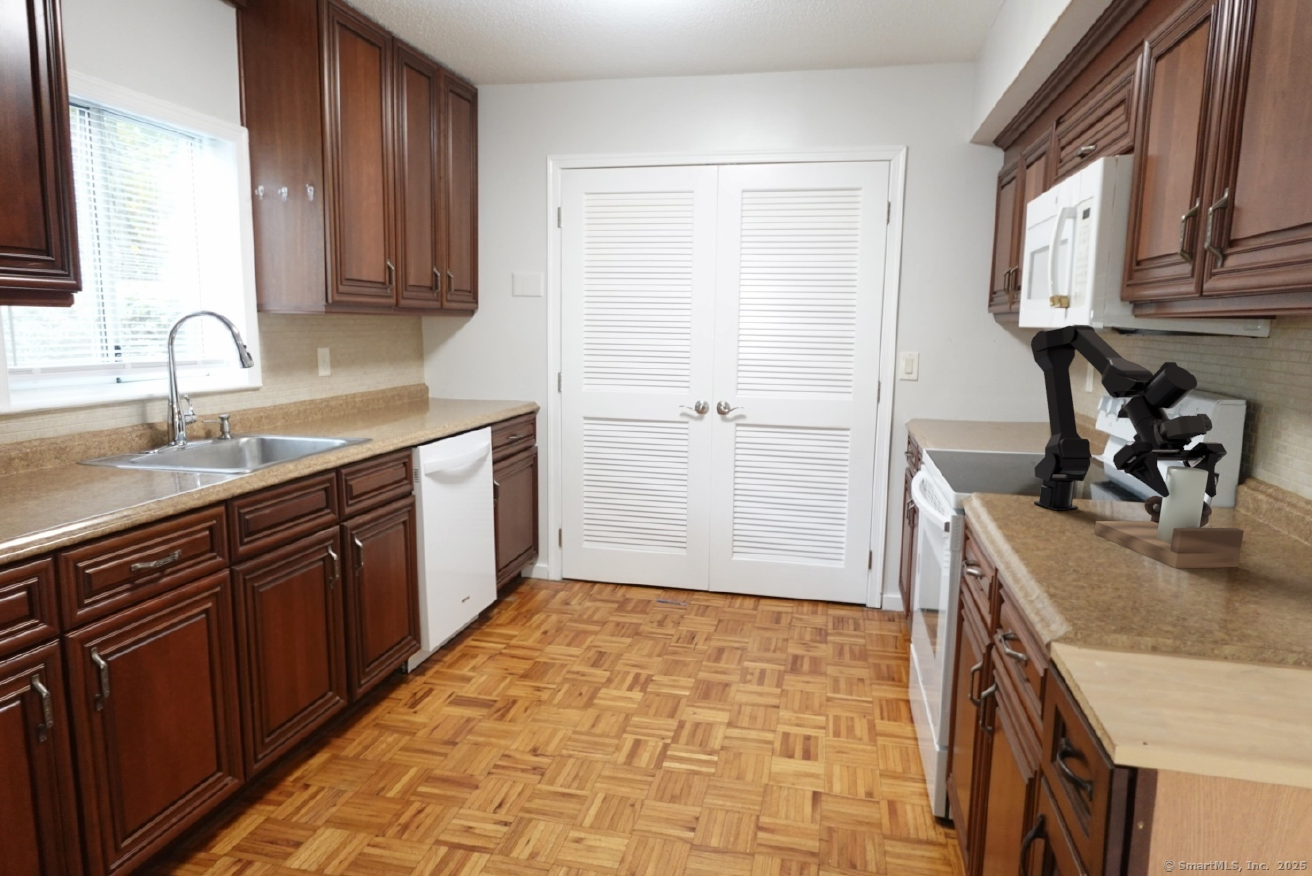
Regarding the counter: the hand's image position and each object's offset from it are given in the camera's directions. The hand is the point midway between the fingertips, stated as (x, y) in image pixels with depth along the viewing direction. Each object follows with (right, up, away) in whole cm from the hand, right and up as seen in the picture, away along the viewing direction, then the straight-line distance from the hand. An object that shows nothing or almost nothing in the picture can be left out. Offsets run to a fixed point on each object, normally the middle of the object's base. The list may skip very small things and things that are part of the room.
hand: (1190, 496), depth 139 cm
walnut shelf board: (-1, -10, +6) cm, 12 cm away
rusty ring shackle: (+12, -8, +24) cm, 28 cm away
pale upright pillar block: (-1, -8, +3) cm, 9 cm away
